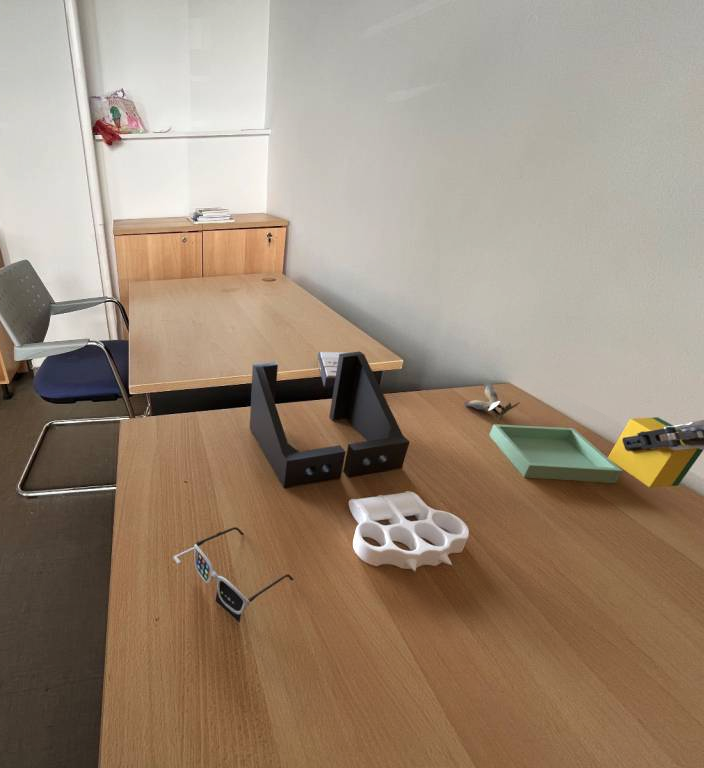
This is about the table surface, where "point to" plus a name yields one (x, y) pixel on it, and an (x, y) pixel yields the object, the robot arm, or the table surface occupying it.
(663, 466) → the sponge
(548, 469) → the tray
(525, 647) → the table surface
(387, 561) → the white brass knuckles
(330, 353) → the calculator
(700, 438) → the robot arm
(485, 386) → the eagle figurine
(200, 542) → the smart glasses
